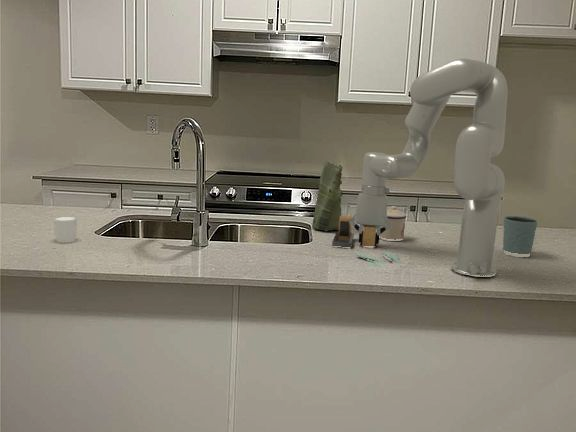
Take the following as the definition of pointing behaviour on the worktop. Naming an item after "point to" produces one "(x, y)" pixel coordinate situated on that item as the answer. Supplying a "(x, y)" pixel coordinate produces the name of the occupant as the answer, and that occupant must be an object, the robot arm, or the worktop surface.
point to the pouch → (328, 199)
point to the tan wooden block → (369, 235)
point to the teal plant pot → (519, 234)
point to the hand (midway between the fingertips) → (368, 244)
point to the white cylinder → (65, 229)
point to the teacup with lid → (394, 224)
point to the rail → (343, 233)
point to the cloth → (391, 256)
